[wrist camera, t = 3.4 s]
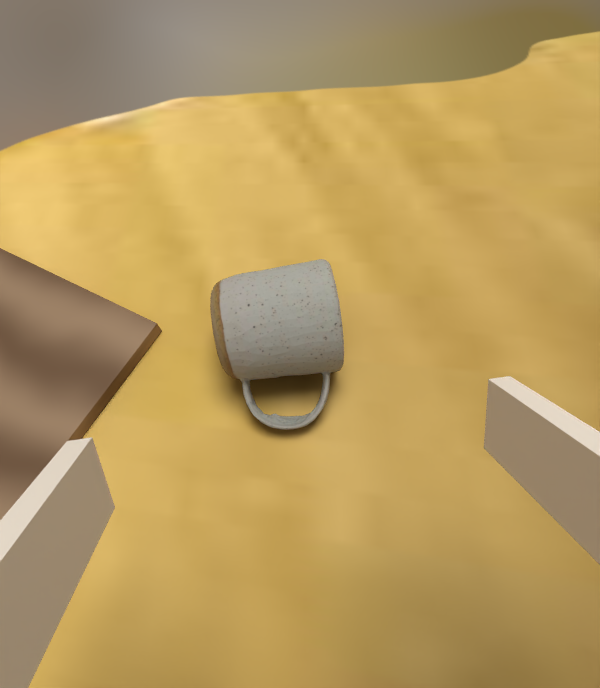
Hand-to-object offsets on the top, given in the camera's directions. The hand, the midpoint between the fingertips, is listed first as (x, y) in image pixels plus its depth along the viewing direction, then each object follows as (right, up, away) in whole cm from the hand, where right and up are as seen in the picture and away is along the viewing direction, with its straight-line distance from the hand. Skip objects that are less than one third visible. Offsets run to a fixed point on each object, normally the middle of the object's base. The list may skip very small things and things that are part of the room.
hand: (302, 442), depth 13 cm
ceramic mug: (-1, +2, +17) cm, 17 cm away
